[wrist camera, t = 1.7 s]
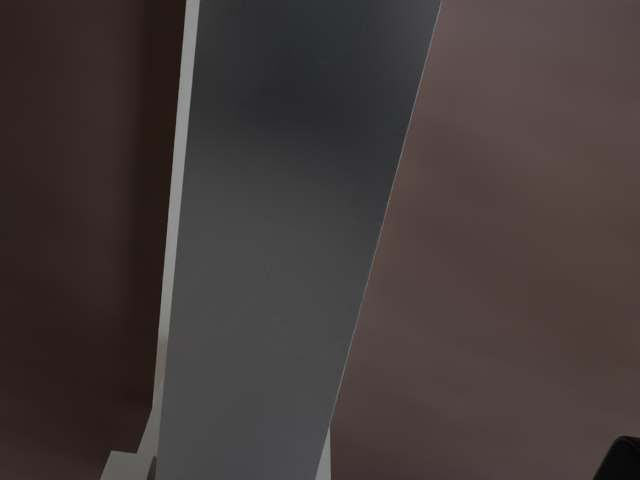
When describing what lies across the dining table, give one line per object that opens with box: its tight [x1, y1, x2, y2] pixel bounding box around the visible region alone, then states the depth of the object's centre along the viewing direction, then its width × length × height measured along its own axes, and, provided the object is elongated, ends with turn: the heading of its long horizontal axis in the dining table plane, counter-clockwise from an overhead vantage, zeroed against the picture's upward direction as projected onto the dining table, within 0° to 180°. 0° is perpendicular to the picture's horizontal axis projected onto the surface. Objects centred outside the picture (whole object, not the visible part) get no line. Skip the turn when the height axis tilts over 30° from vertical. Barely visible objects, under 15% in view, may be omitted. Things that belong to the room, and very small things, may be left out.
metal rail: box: [155, 0, 442, 480], centre depth 11 cm, size 22×3×2 cm, turn 169°
